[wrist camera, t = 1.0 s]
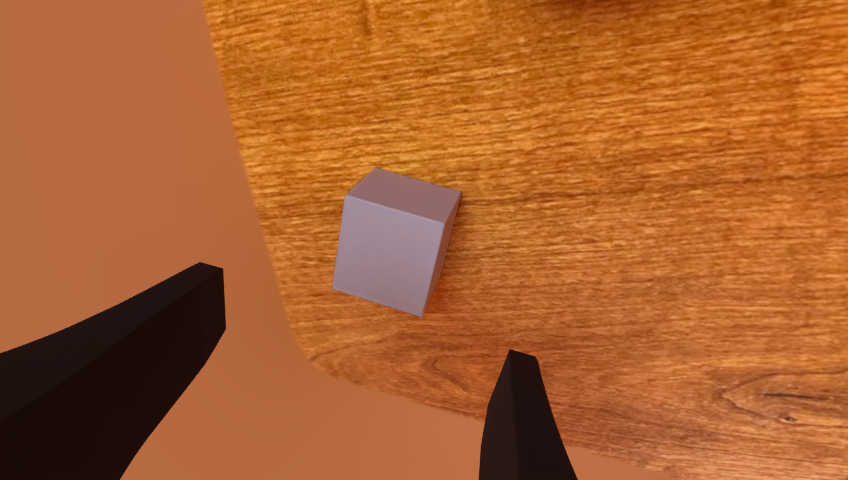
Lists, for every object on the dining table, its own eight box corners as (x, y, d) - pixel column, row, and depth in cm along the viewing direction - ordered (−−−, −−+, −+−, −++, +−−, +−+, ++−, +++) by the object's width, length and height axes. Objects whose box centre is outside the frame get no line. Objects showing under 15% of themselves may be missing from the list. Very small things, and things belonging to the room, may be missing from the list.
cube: (440, 276, 25) (422, 318, 21) (360, 252, 25) (331, 289, 22) (462, 191, 23) (445, 223, 19) (375, 166, 23) (344, 194, 20)
